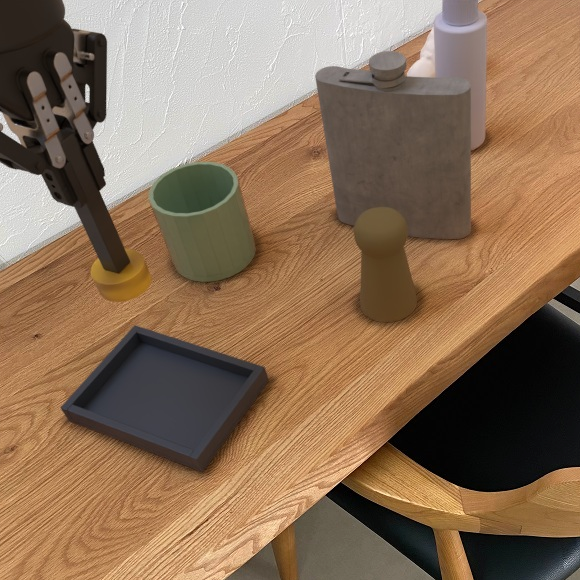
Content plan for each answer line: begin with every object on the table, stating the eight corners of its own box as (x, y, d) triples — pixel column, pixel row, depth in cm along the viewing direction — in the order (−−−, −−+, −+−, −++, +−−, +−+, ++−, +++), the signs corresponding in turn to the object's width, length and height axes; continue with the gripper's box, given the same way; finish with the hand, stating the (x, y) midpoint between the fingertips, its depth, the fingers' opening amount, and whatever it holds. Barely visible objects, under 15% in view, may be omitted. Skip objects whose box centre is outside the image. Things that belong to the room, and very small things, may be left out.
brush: (88, 294, 66) (13, 147, 55) (120, 261, 69) (54, 114, 58) (130, 307, 65) (61, 159, 54) (162, 273, 67) (102, 124, 56)
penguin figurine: (485, 9, 104) (424, 55, 100) (488, 68, 111) (431, 113, 107) (448, -4, 107) (388, 40, 103) (453, 55, 114) (397, 98, 110)
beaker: (157, 270, 89) (130, 204, 82) (203, 220, 95) (182, 154, 88) (226, 290, 86) (205, 224, 79) (271, 237, 92) (254, 171, 85)
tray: (68, 421, 76) (59, 407, 75) (141, 339, 83) (134, 324, 81) (202, 472, 71) (196, 459, 70) (269, 381, 78) (264, 366, 76)
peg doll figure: (405, 327, 81) (398, 242, 72) (351, 315, 83) (337, 231, 74) (425, 288, 84) (419, 203, 76) (372, 277, 86) (361, 193, 78)
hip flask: (473, 223, 91) (474, 53, 75) (465, 246, 88) (463, 76, 73) (343, 205, 94) (318, 40, 79) (331, 226, 92) (303, 61, 77)
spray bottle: (494, 144, 100) (499, -41, 83) (451, 159, 99) (448, -26, 82) (470, 121, 104) (470, -60, 87) (429, 135, 102) (421, -46, 85)
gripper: (5, -101, 51) (102, 137, 65) (-168, -8, 44) (-18, 240, 57) (96, -90, 49) (177, 154, 62) (-70, 10, 41) (63, 264, 55)
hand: (83, 194), depth 60 cm, fingers closed on brush
